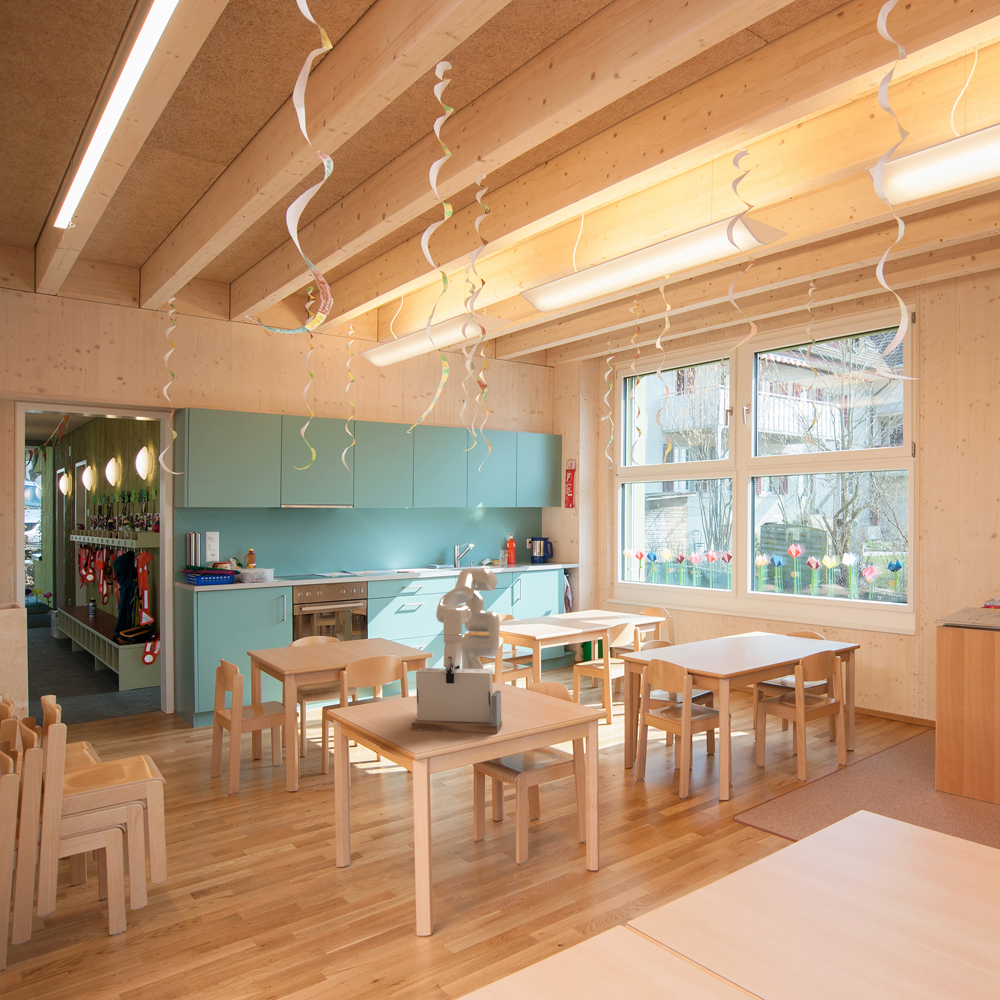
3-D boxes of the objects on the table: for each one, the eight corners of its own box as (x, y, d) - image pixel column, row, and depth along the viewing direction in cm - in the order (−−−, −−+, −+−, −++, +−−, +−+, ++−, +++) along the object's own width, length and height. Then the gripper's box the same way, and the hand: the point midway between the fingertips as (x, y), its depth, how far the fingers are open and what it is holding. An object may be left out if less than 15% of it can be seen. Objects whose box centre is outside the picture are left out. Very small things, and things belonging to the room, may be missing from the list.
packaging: (493, 717, 313) (492, 669, 312) (490, 722, 307) (489, 673, 306) (421, 715, 318) (419, 667, 317) (417, 720, 312) (415, 672, 311)
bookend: (496, 720, 311) (496, 690, 311) (501, 720, 310) (501, 690, 311) (491, 726, 302) (491, 695, 302) (496, 726, 302) (496, 695, 302)
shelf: (419, 723, 318) (419, 716, 318) (502, 726, 311) (502, 720, 311) (411, 729, 308) (411, 723, 308) (497, 733, 301) (497, 726, 301)
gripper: (449, 634, 320) (449, 676, 319) (438, 641, 303) (438, 685, 302) (467, 635, 318) (467, 676, 318) (456, 641, 301) (456, 685, 301)
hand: (453, 680), depth 310 cm, fingers open, 9 cm apart
